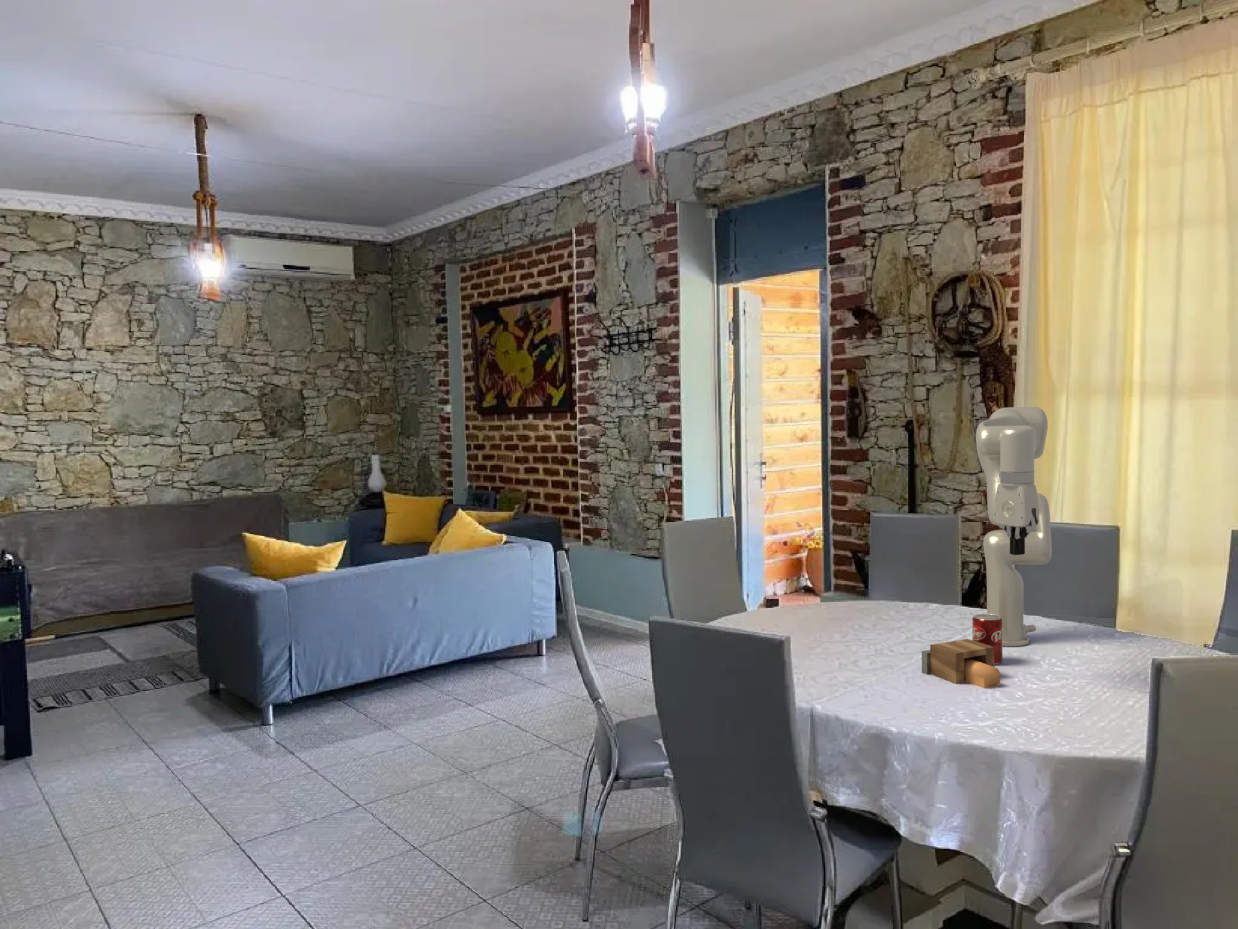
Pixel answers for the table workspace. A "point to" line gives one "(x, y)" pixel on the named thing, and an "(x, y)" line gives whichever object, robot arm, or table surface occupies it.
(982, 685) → the dowel
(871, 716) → the table surface
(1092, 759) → the table surface
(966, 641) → the block
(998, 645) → the soda can
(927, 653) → the rail
